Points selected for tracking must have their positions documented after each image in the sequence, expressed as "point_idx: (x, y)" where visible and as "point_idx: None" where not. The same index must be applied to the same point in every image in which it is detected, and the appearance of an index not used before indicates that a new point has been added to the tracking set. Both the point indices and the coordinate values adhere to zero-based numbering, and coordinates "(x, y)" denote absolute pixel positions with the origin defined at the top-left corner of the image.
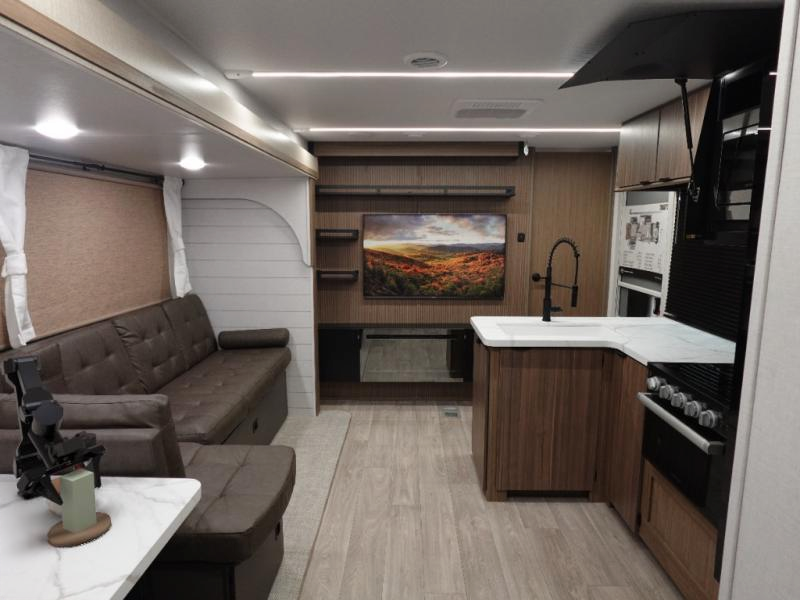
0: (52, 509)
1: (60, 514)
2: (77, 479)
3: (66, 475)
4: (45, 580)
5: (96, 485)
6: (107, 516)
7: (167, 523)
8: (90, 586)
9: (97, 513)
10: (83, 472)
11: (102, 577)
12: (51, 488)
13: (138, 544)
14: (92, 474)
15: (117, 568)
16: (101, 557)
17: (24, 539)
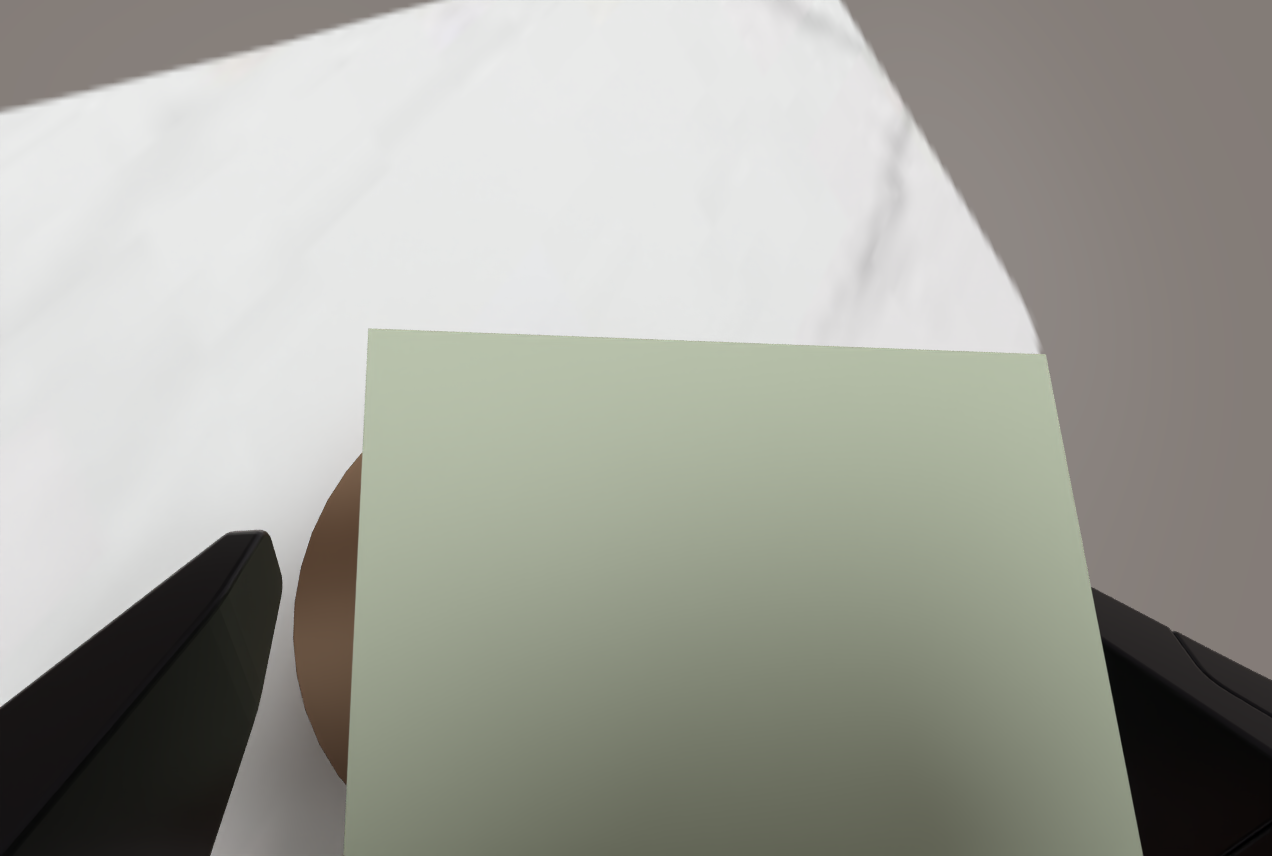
0: None
1: None
2: (909, 359)
3: None
4: (916, 271)
5: (263, 643)
6: (335, 532)
7: (144, 80)
8: (819, 39)
9: (335, 684)
10: (550, 704)
11: (755, 38)
12: (1244, 695)
13: (462, 80)
14: (422, 353)
15: (676, 24)
16: (662, 177)
17: None
